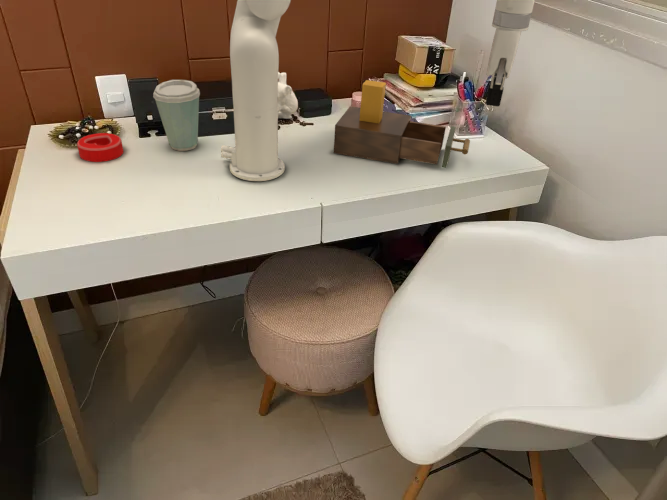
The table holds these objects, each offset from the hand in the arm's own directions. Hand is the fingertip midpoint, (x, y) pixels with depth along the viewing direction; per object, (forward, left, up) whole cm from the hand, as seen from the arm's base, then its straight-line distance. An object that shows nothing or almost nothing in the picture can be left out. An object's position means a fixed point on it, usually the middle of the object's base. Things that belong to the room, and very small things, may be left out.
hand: (492, 104), depth 122 cm
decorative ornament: (-86, -29, -16) cm, 92 cm away
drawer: (-13, 0, -15) cm, 20 cm away
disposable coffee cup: (-71, -18, -16) cm, 75 cm away
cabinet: (-27, 0, -16) cm, 31 cm away
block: (-28, 0, -8) cm, 29 cm away
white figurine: (-55, +11, -16) cm, 59 cm away
